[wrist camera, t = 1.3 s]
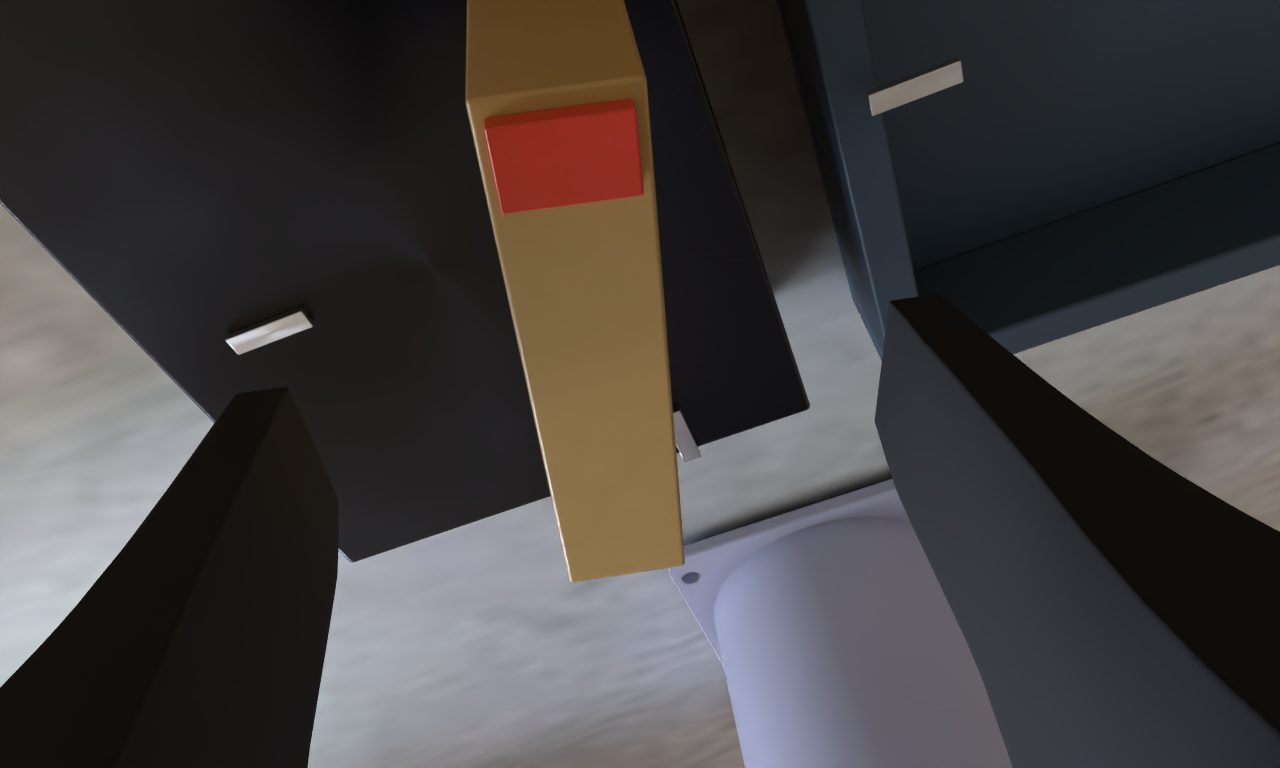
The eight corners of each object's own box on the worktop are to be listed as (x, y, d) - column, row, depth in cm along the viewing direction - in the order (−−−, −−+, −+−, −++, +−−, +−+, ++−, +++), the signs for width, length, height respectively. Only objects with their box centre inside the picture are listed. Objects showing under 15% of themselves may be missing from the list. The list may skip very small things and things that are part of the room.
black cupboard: (366, 447, 23) (352, 573, 20) (-52, -56, 15) (-169, 45, 12) (931, 247, 21) (998, 357, 18) (809, -456, 13) (897, -445, 10)
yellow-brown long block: (651, 391, 18) (687, 579, 15) (554, 405, 18) (570, 597, 15) (607, -61, 12) (650, 86, 9) (466, -43, 12) (464, 111, 9)
